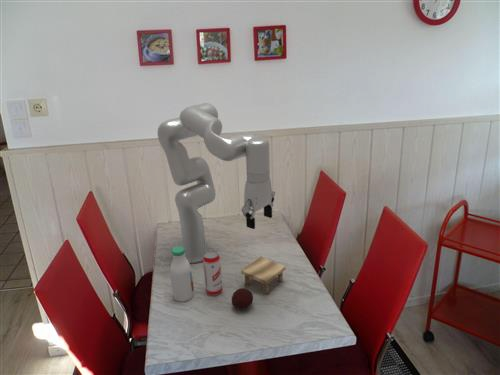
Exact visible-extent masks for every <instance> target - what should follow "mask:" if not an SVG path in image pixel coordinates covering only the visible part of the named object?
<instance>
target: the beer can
mask: <svg viewBox="0 0 500 375" xmlns="http://www.w3.org/2000/svg"><path fill="white" fill-rule="evenodd" d="M202 264H203V273H204V284H205V291H206V293H207V294H208V295H209V296H218V295H219V294H221V293H222V291H223V279H222V278H223V277H222V276H223V275H222V264H221V257H220V255H219V253H218V251H215V250H209V251H208V252H206V253H205V254H204V258H203V261H202Z"/></svg>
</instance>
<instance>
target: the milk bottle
mask: <svg viewBox="0 0 500 375" xmlns="http://www.w3.org/2000/svg"><path fill="white" fill-rule="evenodd" d="M171 256H172V259H171V264H170V268H169V275H170V282H171V292H172V297H173V299H174V300H175V301H177V302H181V303H182V302H188V301H190V300H191V299H192V298H193V297H194V296H195V290H194V279H193V271H192V266H191V265H190V264H191V263H189V262H188V260H187V259H186V257H185V249H184V247H182V246H179V245H177V246H174V247H172V249H171Z"/></svg>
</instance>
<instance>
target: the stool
mask: <svg viewBox="0 0 500 375" xmlns="http://www.w3.org/2000/svg"><path fill="white" fill-rule="evenodd" d="M284 271H286V265H283V264H281V263H277V262H275V261H274V260H270V259H268V258H266V257H263V256H260V257H258V258H257V259H255V260H254V261H253V262H251V263H250V264H248V265H247V266H245V267H244V268H243V269H241V270H240V272H241V273H240V274H241V275H243V276H244V285H245V286H250V285H251V284H250V283H251V282H250V281H251V280H250V279H252V280H255V281H256V282H257V281H258V282H259V283H261V284H262V286H263V288H262V289H263V294H264V295H268V294H269V284H270V283H271V282H272V281H273V280H274V279H276V278H277V282H278V283H283V280H284V279H283V278H284V277H283V276H284V274H283V272H284Z"/></svg>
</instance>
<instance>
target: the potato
mask: <svg viewBox="0 0 500 375" xmlns="http://www.w3.org/2000/svg"><path fill="white" fill-rule="evenodd" d="M253 300H254V296H253V293H252V291H251V290H250V289H248V288H241V287H240V288H238V289H236V290H235V291H234V292H233V294H232V296H231V304H232V306H233V307H234V308H235V309H237V310H246V309H248V308H249V307H250V306H251V305H252V303H253Z"/></svg>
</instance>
